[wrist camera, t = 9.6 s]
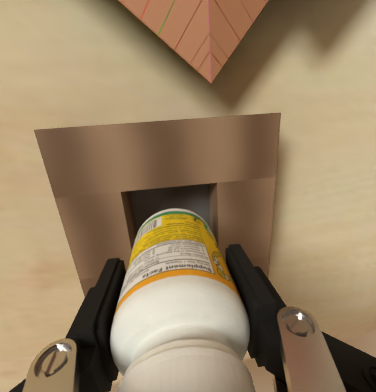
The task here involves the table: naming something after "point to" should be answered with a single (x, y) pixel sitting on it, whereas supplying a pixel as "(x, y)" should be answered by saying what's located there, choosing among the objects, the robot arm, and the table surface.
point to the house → (198, 27)
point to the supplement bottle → (179, 312)
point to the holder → (162, 183)
